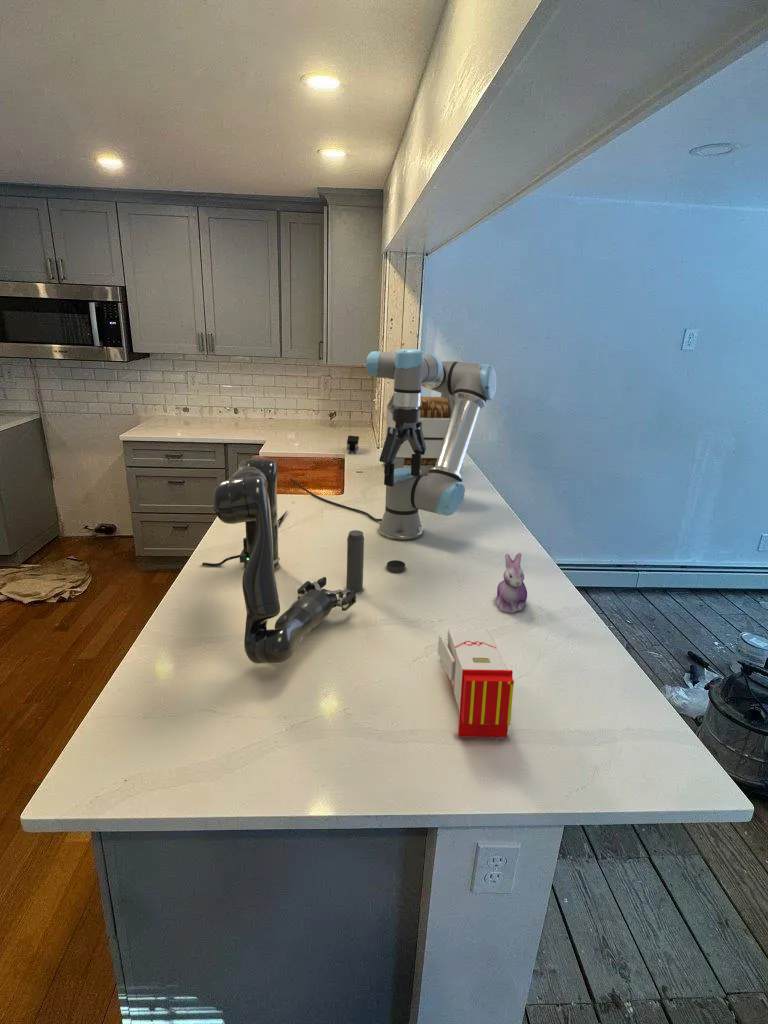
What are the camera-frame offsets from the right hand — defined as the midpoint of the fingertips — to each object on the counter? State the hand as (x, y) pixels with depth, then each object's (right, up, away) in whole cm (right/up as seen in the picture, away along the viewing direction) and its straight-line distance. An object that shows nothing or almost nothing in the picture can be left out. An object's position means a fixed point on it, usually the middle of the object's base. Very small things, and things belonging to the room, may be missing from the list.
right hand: (402, 480), depth 164 cm
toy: (+13, -47, -46) cm, 67 cm away
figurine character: (-22, +24, +146) cm, 149 cm away
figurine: (+29, -35, -10) cm, 46 cm away
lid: (-2, -25, +8) cm, 27 cm away
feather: (-42, -10, +49) cm, 65 cm away
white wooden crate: (+12, +10, +111) cm, 112 cm away
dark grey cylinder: (-14, -31, -5) cm, 34 cm away
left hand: (-17, -28, -16) cm, 36 cm away
